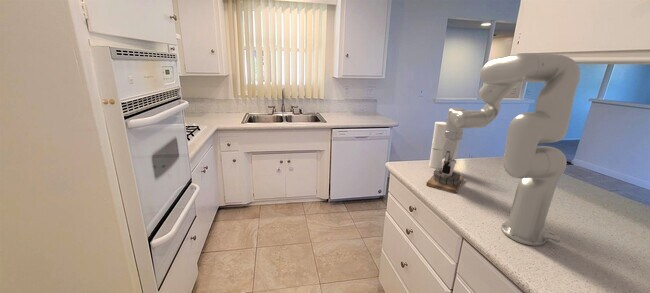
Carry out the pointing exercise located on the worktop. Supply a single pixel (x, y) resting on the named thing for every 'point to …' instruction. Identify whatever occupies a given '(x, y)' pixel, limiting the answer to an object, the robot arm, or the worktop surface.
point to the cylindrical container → (437, 145)
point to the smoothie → (450, 168)
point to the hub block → (445, 181)
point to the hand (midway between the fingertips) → (447, 170)
